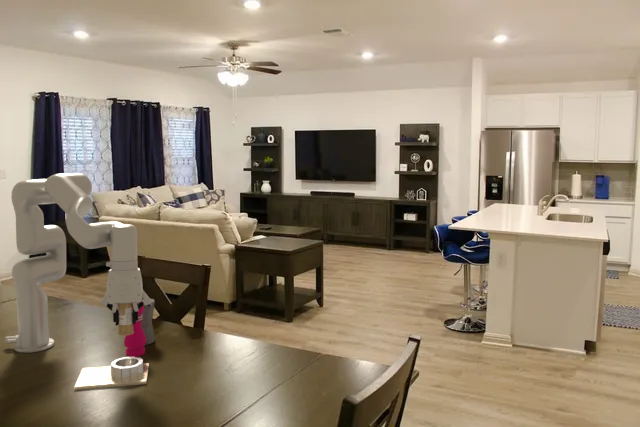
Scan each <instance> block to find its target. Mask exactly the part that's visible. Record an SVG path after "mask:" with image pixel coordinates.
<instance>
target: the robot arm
mask: <svg viewBox="0 0 640 427" xmlns="http://www.w3.org/2000/svg"><path fill="white" fill-rule="evenodd" d="M92 188H93V185H92V181H91V180H90V178H89V176H87V175H85V174H84V173H79V172H73V173H72V172H71V173H68V172H67V173H66V172H65V173H63V172H62V173H55V174H52V175H50V176H49V177H47V178H38V179H37V178H36V179H25V180H22V181H19V182H17V183H15V184H14V186H13V188H12V190H11V197H10V198H11V203H12V207H13V210H14V214H15V240H16V243H15V244H16V249H17V251H18V253H19V254H21V255H24V256H32V255H38V254H39V255H40V254H46V255H40V256H34V257H29V258H24V259H22V260H19V261H17V262H16V263H14V265H13V266H12V269H11V276H12V280H13V283H14V284H13V285H14V288H15V297H16V312H17V313H16V314H17V330H18V331H17V333H18V334H15V335H14V336H12V335H10V336H9V335H8V336H5V337H4V338H5V340H4V341H5V343H6V344H7V345H8V344H14V345H13V350H14V351H16V352H18V353H21V354H22V353H24V354H25V353H38V352H42V351H45V350H48V349H50V348H52V347H53V346H55V340H54V339H53V338H50V326H49V325H50V324H49V305H48V304H49V303H48V295H47V292H46V291H45V290H44V289H43V287H41V285H43V284H47V283H52V282H55V281H59V280H61V279H63V278H64V277H65V275H66V272H67V238H66V234H65V232H64V230H63V228H61V227H60V226H59V225H56V224H47V225H45V222H44V221H45V218H44V212H43V210H42V209H41V208H40V206H39V205H51V204H57V205H58V207H59V208H60V209H62V211H63V212H65V214H66V218H65V223H66V229H67V231H68V234H69V235H70V236H71V237H72V238H73V239H74V241H75V242H76V243H77V244H78V245H80V246H81V247H82V248H84V249H86V250H87V249H89V250H93V249H99V248H106V247H110V260H109V261H106V263H105V266H106V267H109V268H110V269H108V272H107V277H106V278H107V279H106V280H107V281H106V292H105V295H104V296H103V297H102V298H101V300H100V304H101V305H103V306H105V307H106V308H108V310H110V312H112V316H113V317H112V319H113V321H112V322H113V323H115V327H116V326H119V324H118V304H124V303H133V307H134V309H133V324H136V321H138V310H139V309H140V308H141V307H142V306H143V305H144V304H146V303H147V302H148V301H149V300H150V299H151V298H150V297H149V296H148V294H147V293H146V291H145V290H144V289H143V288H144V287H143V277H142V272H141V269H140V267H138V229H137V226H135V225H134V224H129V223H122V222H120V221H117V220H109V221H101V222H94V223H88V222H87V221H86V220H85V219H83V218H84V217H86V215H88V213H89V212H90V211H91V209H92V208H93V199H92V198H91V197H90V194H91V193H92V190H93V189H92ZM142 297H143V298H144V299H143V300H142ZM141 300H142V301H141ZM138 302H139V303H138Z"/></svg>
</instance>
